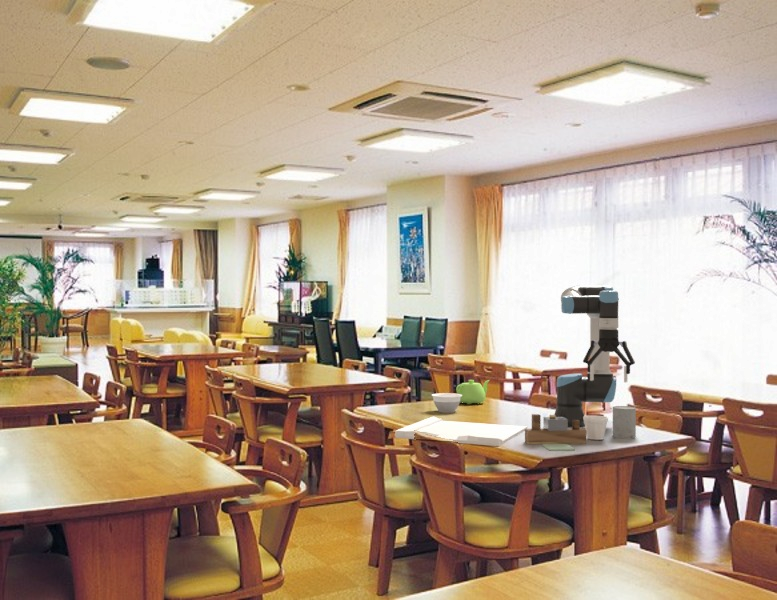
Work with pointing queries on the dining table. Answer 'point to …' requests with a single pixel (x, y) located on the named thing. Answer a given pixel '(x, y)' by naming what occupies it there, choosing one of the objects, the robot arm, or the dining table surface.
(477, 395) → the teapot
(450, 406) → the bowl
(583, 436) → the body
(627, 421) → the grey cylindrical container
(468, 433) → the white flat slab
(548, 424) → the lever cap
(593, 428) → the cup
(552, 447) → the mat
